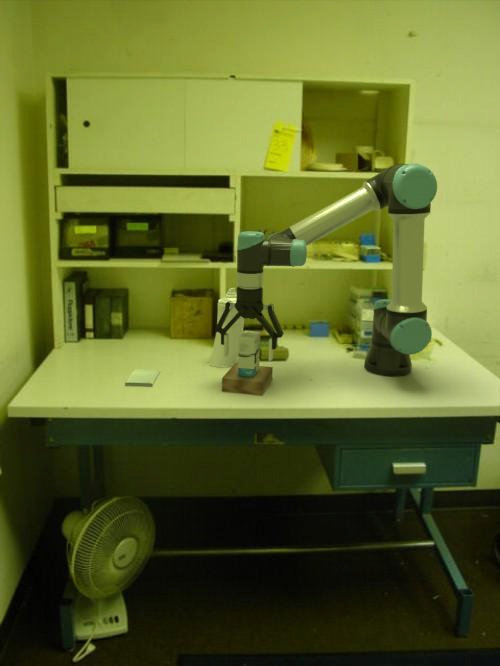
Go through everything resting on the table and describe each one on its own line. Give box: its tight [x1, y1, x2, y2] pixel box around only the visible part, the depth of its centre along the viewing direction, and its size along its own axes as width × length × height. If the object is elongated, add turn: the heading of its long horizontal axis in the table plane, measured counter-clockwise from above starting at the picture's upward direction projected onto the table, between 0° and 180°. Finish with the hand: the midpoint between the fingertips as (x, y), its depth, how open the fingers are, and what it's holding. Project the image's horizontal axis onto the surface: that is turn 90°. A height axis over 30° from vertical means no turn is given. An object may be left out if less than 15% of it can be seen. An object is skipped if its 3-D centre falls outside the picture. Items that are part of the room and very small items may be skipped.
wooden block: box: [221, 362, 274, 396], centre depth 183 cm, size 12×14×4 cm
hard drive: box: [124, 368, 161, 388], centre depth 187 cm, size 2×8×12 cm
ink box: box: [237, 330, 261, 377], centre depth 181 cm, size 8×5×12 cm, turn 167°
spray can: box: [209, 287, 245, 368], centre depth 201 cm, size 12×11×25 cm
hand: (248, 357), depth 181 cm, fingers open, 13 cm apart
